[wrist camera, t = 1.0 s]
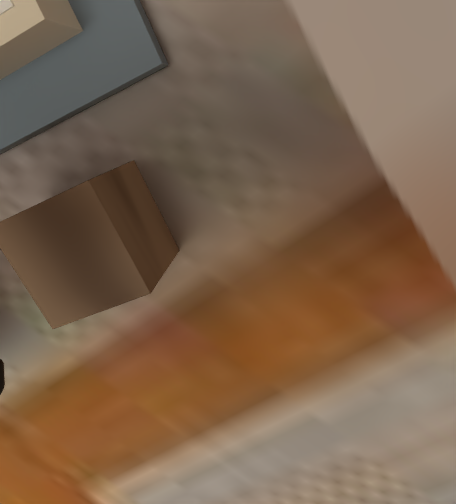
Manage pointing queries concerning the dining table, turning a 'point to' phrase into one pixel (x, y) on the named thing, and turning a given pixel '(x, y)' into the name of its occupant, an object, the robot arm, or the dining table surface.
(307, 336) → the dining table surface
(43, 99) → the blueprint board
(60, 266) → the walnut block
